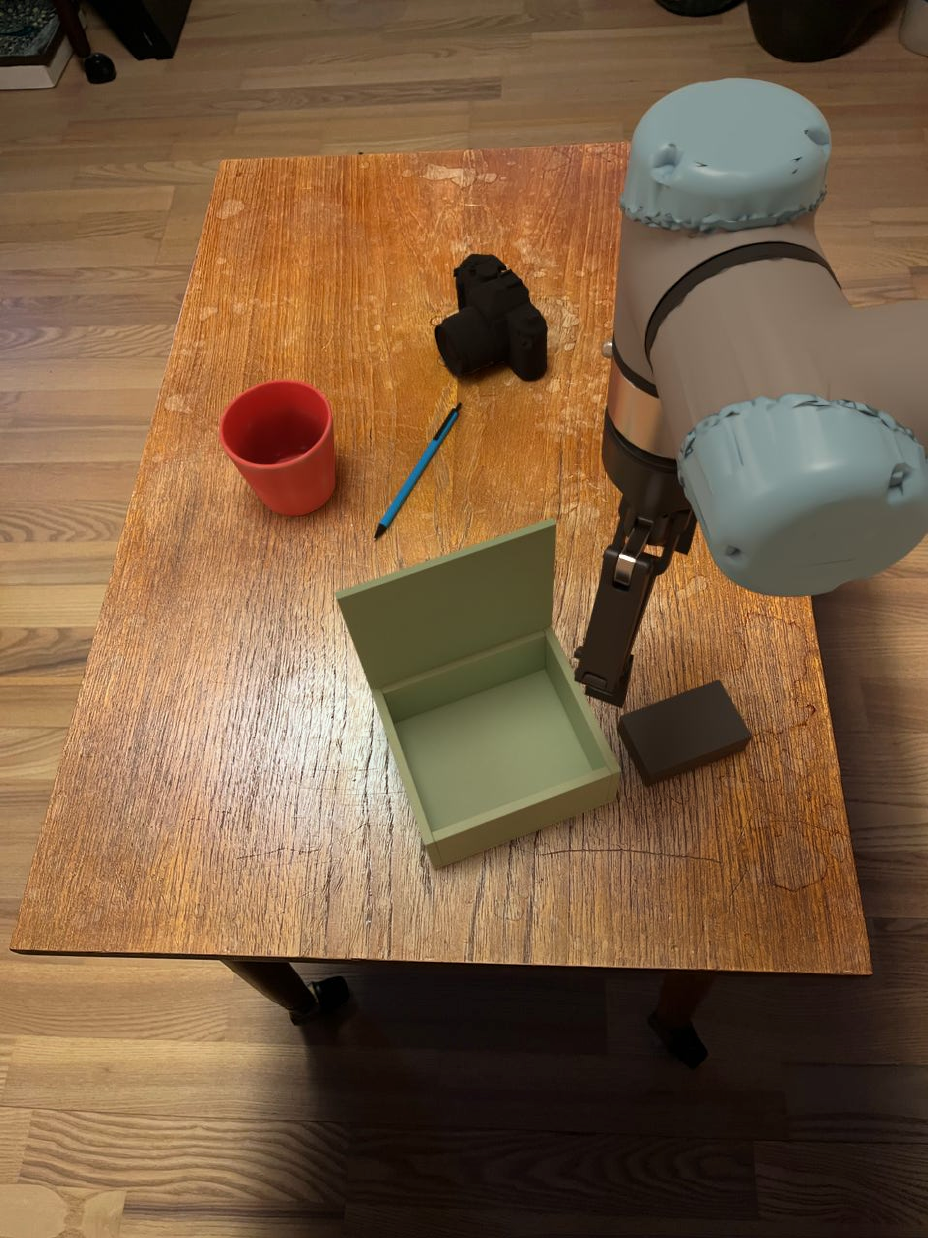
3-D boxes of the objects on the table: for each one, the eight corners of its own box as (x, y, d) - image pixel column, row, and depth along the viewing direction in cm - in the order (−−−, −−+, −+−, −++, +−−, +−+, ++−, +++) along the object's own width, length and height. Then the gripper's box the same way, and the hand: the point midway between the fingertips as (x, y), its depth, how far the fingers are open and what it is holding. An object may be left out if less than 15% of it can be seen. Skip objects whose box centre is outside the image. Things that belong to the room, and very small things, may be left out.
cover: (556, 523, 61) (553, 517, 61) (336, 599, 59) (334, 592, 60) (552, 625, 74) (549, 619, 74) (370, 690, 72) (368, 683, 72)
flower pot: (368, 459, 93) (351, 392, 85) (321, 542, 88) (298, 479, 80) (278, 434, 96) (253, 366, 87) (227, 513, 91) (196, 449, 83)
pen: (464, 407, 96) (463, 400, 95) (378, 544, 88) (376, 537, 87) (457, 405, 96) (456, 397, 95) (370, 541, 88) (368, 534, 87)
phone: (745, 750, 75) (752, 736, 72) (645, 788, 74) (649, 775, 71) (713, 694, 77) (719, 678, 75) (616, 730, 76) (619, 715, 74)
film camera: (413, 330, 102) (403, 263, 95) (486, 295, 104) (482, 227, 96) (482, 413, 95) (477, 348, 87) (559, 374, 97) (561, 308, 89)
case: (615, 800, 73) (621, 771, 67) (434, 870, 72) (424, 845, 66) (550, 662, 80) (550, 624, 74) (383, 722, 78) (370, 688, 72)
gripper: (687, 243, 53) (649, 475, 71) (512, 574, 42) (521, 747, 60) (816, 273, 51) (743, 504, 69) (667, 629, 40) (627, 791, 58)
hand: (639, 618), depth 65 cm, fingers open, 13 cm apart
